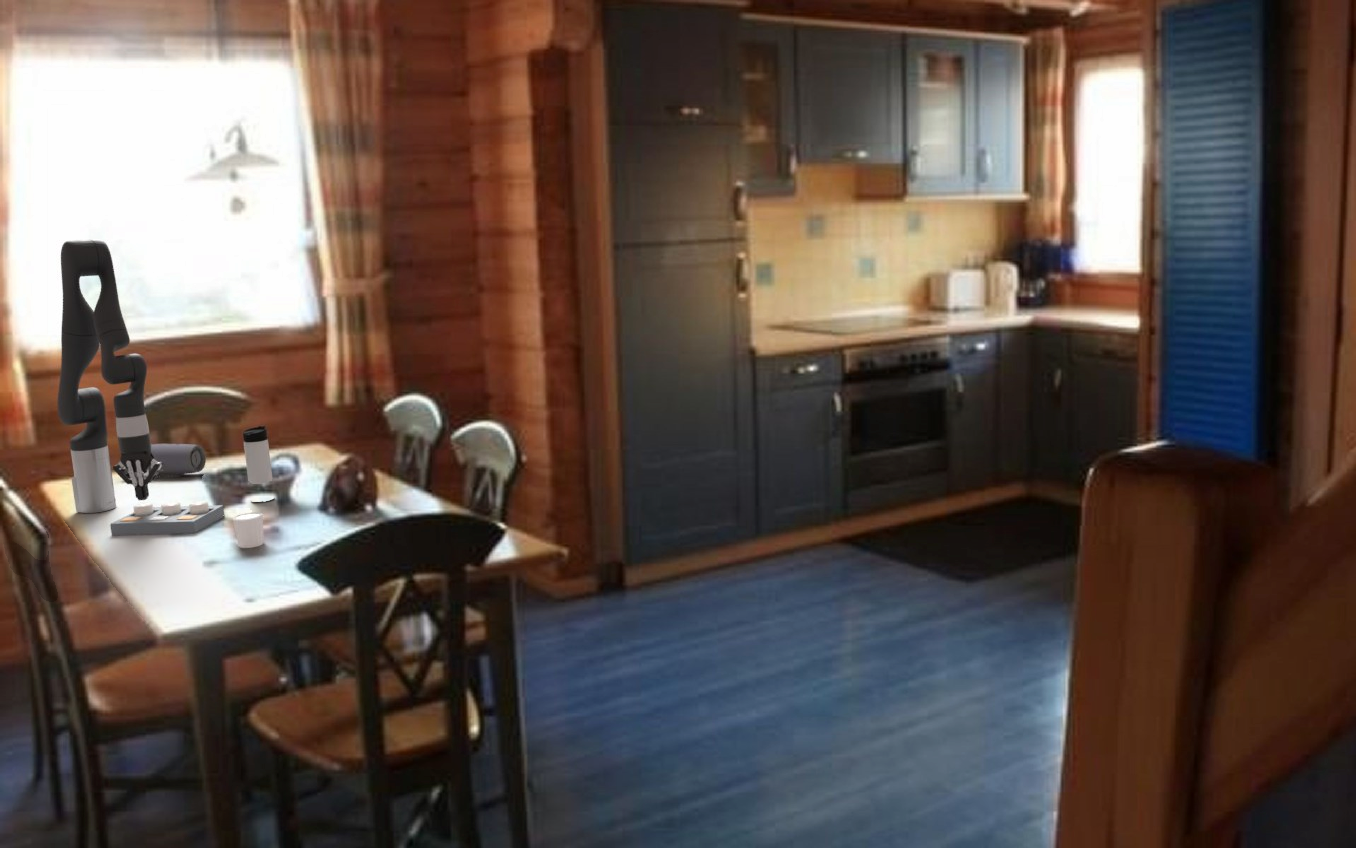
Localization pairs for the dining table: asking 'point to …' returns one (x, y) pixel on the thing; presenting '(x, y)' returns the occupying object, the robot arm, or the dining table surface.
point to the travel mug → (257, 455)
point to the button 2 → (199, 508)
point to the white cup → (249, 529)
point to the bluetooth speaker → (178, 459)
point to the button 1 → (143, 509)
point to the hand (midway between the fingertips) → (142, 499)
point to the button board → (166, 522)
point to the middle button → (171, 509)
